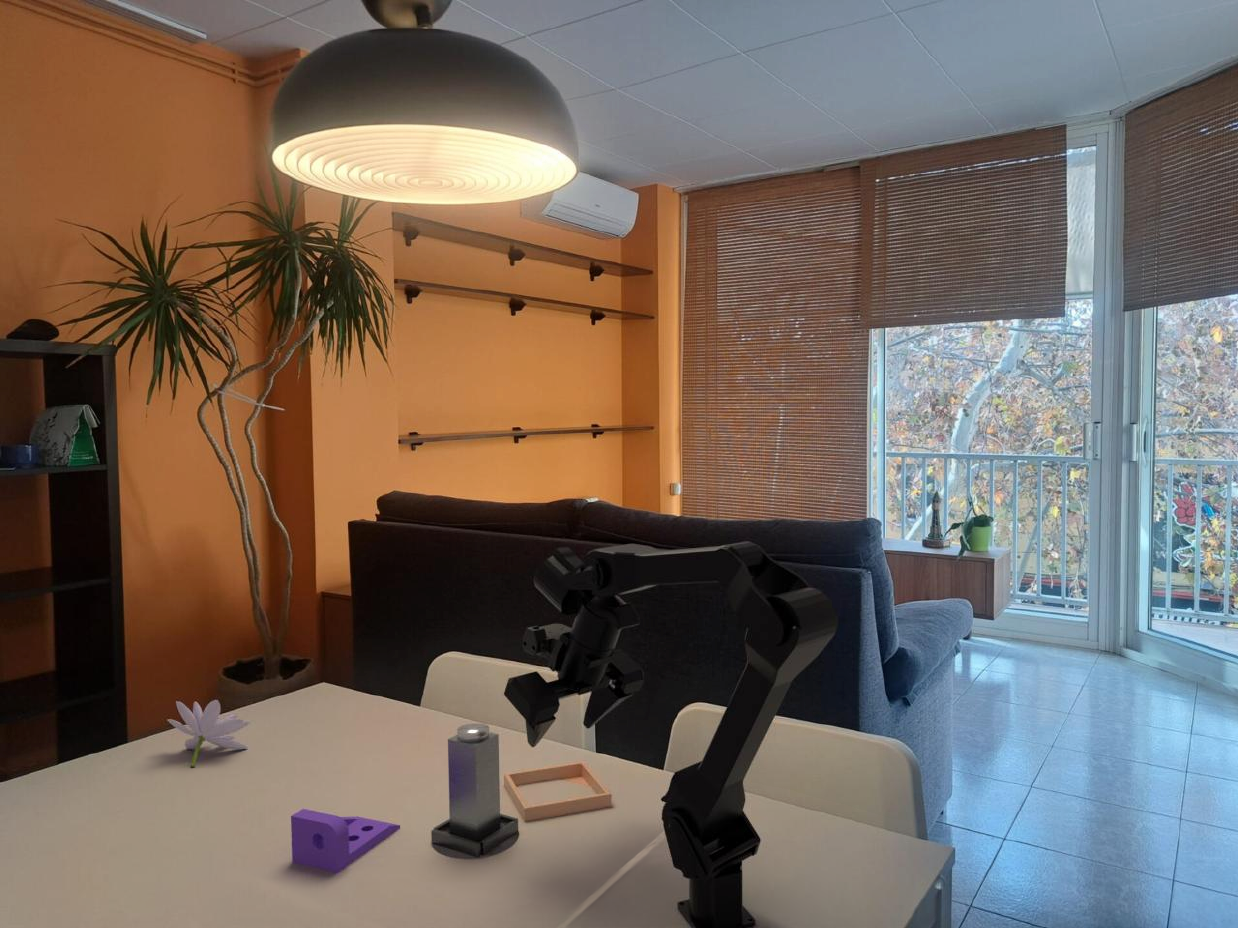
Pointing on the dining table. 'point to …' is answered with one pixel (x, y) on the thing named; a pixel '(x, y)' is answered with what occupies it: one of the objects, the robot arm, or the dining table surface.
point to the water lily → (208, 727)
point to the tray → (568, 773)
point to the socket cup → (473, 850)
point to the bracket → (334, 838)
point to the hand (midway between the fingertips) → (559, 735)
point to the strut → (474, 782)
